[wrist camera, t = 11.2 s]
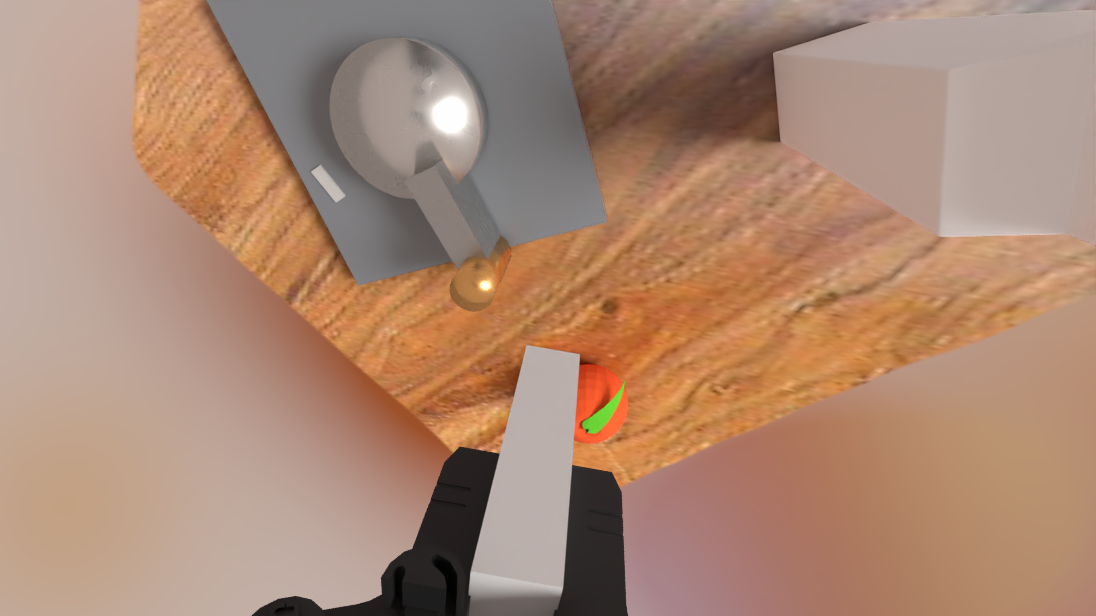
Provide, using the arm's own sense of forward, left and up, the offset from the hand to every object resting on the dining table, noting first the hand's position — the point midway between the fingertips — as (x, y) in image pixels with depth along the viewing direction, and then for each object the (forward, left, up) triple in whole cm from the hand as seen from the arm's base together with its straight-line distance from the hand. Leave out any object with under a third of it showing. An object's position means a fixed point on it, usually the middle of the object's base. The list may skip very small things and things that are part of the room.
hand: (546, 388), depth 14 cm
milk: (-1, +17, -27) cm, 32 cm away
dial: (-3, -9, -25) cm, 27 cm away
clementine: (+19, -4, -27) cm, 33 cm away
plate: (-7, -10, -26) cm, 29 cm away
